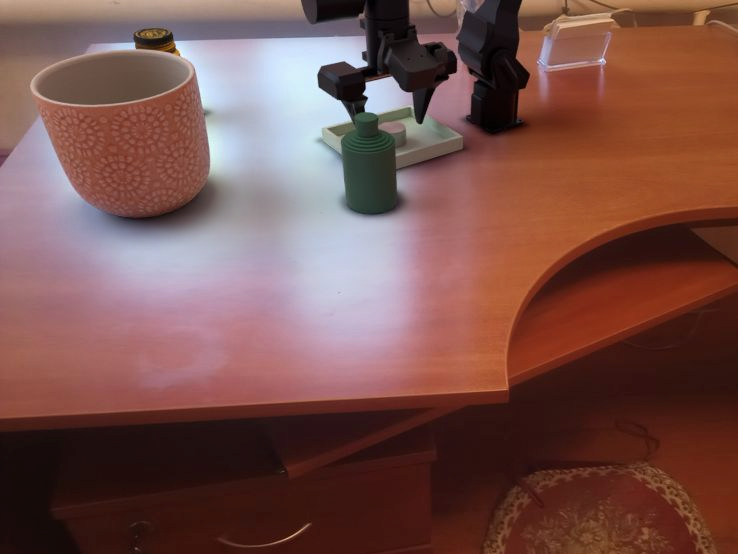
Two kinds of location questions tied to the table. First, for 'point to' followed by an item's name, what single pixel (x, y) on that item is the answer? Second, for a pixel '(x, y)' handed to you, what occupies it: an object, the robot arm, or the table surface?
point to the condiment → (155, 40)
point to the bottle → (369, 166)
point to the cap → (395, 132)
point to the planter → (127, 129)
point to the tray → (419, 138)
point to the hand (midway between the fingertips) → (392, 131)
